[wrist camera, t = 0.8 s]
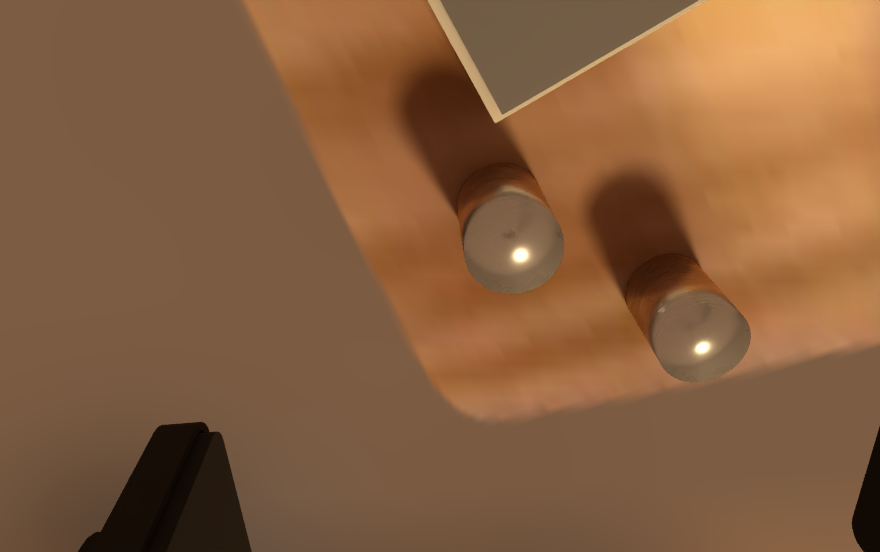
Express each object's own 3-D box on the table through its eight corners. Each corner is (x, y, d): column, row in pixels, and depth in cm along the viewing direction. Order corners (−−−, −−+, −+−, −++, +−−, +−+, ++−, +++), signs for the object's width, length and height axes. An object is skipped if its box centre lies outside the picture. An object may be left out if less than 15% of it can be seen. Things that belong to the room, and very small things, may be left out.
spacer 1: (518, 147, 35) (536, 184, 29) (556, 218, 37) (580, 265, 31) (441, 190, 36) (445, 234, 30) (482, 257, 38) (493, 309, 32)
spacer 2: (688, 240, 38) (733, 289, 32) (715, 301, 39) (762, 357, 34) (612, 278, 38) (644, 331, 33) (643, 336, 40) (677, 395, 35)
